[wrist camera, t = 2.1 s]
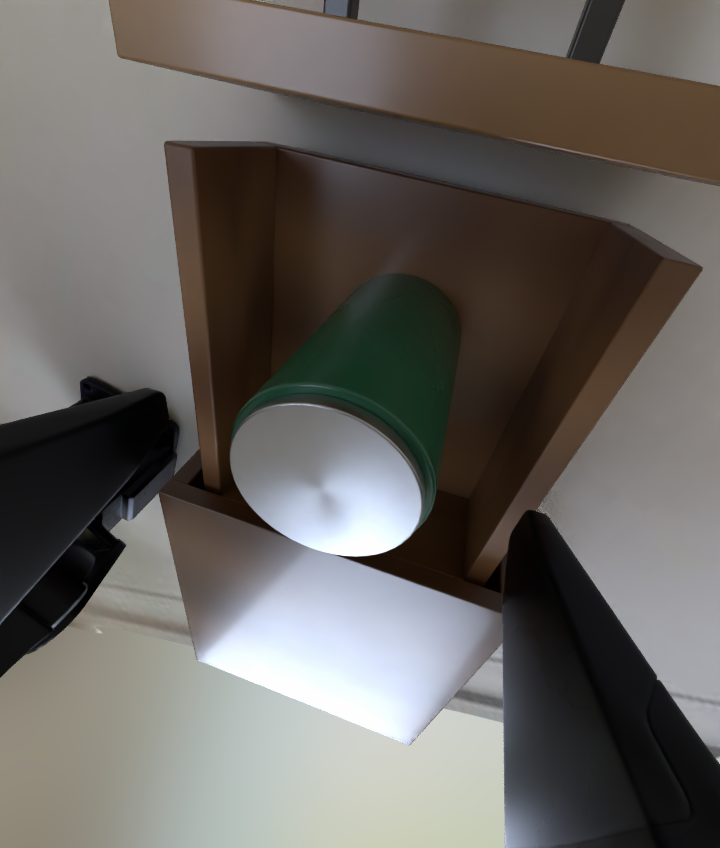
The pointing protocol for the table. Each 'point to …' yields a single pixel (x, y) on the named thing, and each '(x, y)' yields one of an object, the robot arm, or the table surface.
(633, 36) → the table surface
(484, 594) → the cabinet
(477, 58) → the drawer
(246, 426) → the can
